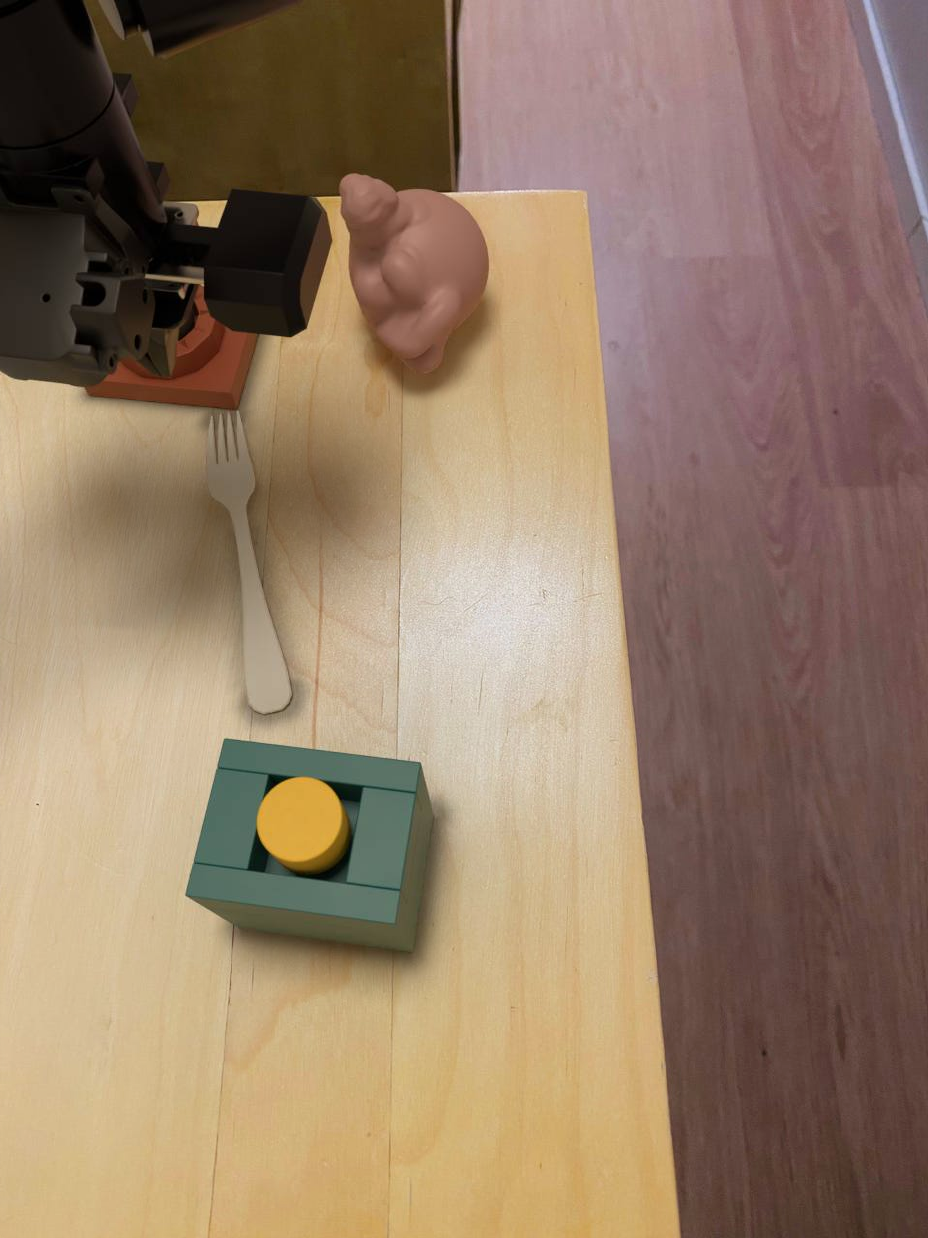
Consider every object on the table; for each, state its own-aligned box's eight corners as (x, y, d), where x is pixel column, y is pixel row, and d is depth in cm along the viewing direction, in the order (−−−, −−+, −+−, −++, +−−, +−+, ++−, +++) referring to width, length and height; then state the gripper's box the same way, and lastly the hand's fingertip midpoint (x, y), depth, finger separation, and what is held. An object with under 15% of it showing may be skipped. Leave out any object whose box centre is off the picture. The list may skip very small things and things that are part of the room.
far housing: (88, 395, 65) (67, 360, 62) (122, 301, 68) (104, 263, 65) (237, 409, 64) (223, 374, 61) (264, 313, 67) (252, 275, 64)
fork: (256, 727, 57) (246, 716, 55) (203, 418, 64) (191, 394, 61) (304, 716, 57) (297, 705, 55) (246, 409, 64) (237, 385, 61)
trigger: (262, 869, 43) (247, 856, 41) (280, 789, 45) (266, 771, 42) (343, 880, 43) (333, 867, 40) (358, 799, 45) (349, 781, 42)
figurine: (359, 399, 64) (331, 258, 53) (357, 269, 69) (330, 116, 58) (496, 389, 64) (496, 247, 53) (484, 260, 69) (482, 105, 58)
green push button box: (238, 928, 50) (184, 896, 42) (268, 793, 53) (223, 737, 45) (413, 952, 50) (395, 925, 41) (434, 814, 52) (421, 762, 44)
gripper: (-298, 231, 34) (-65, 480, 48) (223, 286, 32) (307, 528, 47) (-162, 22, 39) (15, 305, 53) (302, 59, 37) (356, 342, 51)
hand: (166, 370), depth 51 cm, fingers closed
